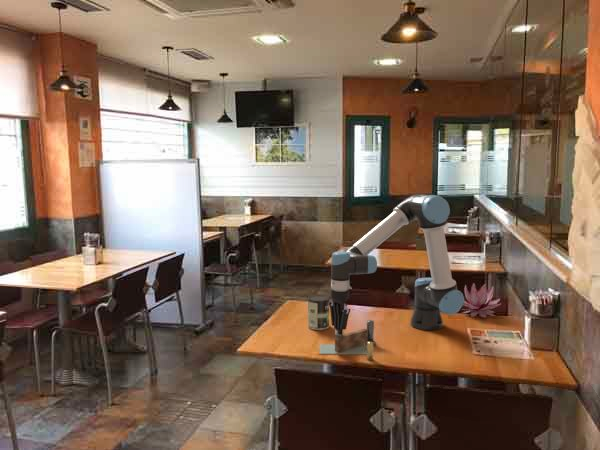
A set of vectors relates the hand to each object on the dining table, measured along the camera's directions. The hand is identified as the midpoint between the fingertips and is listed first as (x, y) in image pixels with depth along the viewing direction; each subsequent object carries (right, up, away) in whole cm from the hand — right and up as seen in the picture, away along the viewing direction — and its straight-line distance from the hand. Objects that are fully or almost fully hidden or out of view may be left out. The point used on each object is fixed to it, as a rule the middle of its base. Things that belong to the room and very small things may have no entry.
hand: (338, 343), depth 199 cm
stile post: (+12, -4, -10) cm, 16 cm away
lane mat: (+2, -2, 0) cm, 3 cm away
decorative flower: (+75, +3, +45) cm, 88 cm away
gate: (+6, -1, 0) cm, 6 cm away
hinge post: (+14, -1, +6) cm, 16 cm away
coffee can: (-7, +1, +29) cm, 30 cm away
